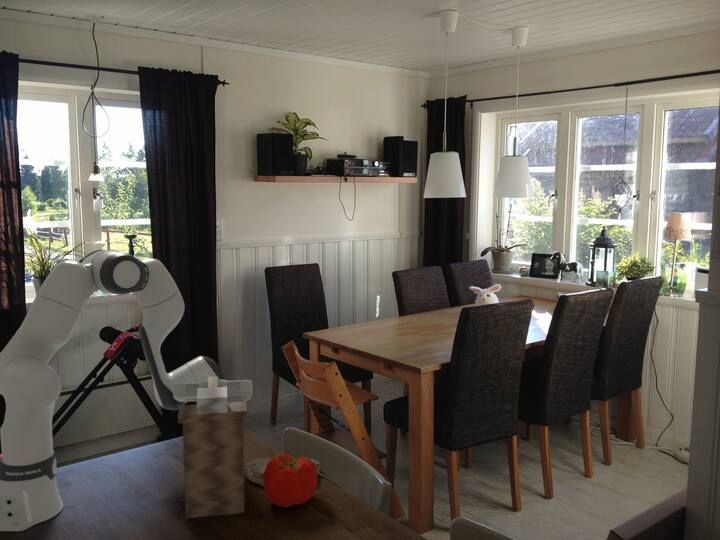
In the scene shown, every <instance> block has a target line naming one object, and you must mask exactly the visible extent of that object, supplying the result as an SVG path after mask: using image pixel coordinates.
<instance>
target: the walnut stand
mask: <svg viewBox="0 0 720 540" xmlns="http://www.w3.org/2000/svg"><path fill="white" fill-rule="evenodd" d="M247 405H248V404H247V401H245V402H229V403H227V407H228V413H213V414H197V403H196V404H184V405H180V407H179V409H178V413H177V423H178V424H182V436H183V438H182V439H183V440H182V442H183V443H182V444H183V447H182V449H183V471H184V474H183V475H184V476H183V477H184V480H183V481H184V504H185V505H184V507H185V508H184V510H185V519H193V518H202V517H204V518H205V517H215V516H223V515H224V516H225V515H236V514H244V513H246V512H245V509H246V508H245V506H246V505H245V502H246V501H245V460H244V458H245V457H244V456H245V455H244V453H245V452H244V447H245V446H244V420H248V407H247Z"/></svg>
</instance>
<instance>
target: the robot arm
mask: <svg viewBox="0 0 720 540" xmlns="http://www.w3.org/2000/svg"><path fill="white" fill-rule="evenodd" d="M97 291H100V292H102V293H105V294H112V295H113V294H114V295H118V296H121V295H122V296H124V295H128V294H132V295H133V296H134V297H135V299H136V301H137V303H138V306H139V307H140V310H141V312H142V323H141V325H140V326H139V328H138V336H139V340H140V343H141V346H142V347H141V348H142V351H143V354H144V358H145V361H146V363H147V367H148V371H149V374H150V378H151V380H152V384H153V390H154V391H153V393H154V396H155V399H156V401H157V403H158V404H159V405H160V406H161V407H162V408H163V409H165V410H170V411H177V410H179V407H180V405H187V403H189V402H190V403H191V402H197V390H198V388H208V377H215V376H218V387H227V403H229V402H245V401H246V402H247V401H249V400H250V399H251V398H252V395H253V390H254V389H253V388H254V387H253V381H252V379H241V380H239V379H237V380H226V379H225V376H224V374H223V372H222V370H221V368H220V367H219V365H218V363H217V362H216V361H215V360H214V359H212V358H210V357H209V356H204V355H199V356H197V357H195V358H194V359H192V360H190V361H188V362H186V363H184V364H183V365H181V366H180V367H177V368H176V369H174V370H172V371H170V372H167V370H166V367H165V363H164V361H163V357H162V354H161V346H162V344H163V342H164V341H165V339H166V338H167V337H168V335H169V334H170V333H171V332H172V331H173V330H174V329H175V328H176V327H177V326H178V324H179V323H180V321H181V320H182V318H183V316H184V313H185V308H186V307H185V302H184V299H183V296H182V294H181V291H180V289H179V287H178V286H177V283H176V281H175V280H174V278H173V277H172V275H171V272H169V271H168V269H167V267H166V266H165V265H164V264H163V262H161V260H159V259H158V258H152V257H151V258H149V257H148V258H145V259H141V260H140V259H139V258H137V257H136V256H135V255H133V254H130V253H127V252H124V251H123V252H122V251H120V250H114V249H97V250H94V251H92V252H90V253H88V254H86V255H85V256H84V257H83V258H81V259H80V260H78V261H77V260H71V259H68V260H67V259H65V260H61V261H59V262H58V263H56V265H55V266H54V267H53V268H52V269H51V271H50V272H49V273H48V275H47V276H46V278H45V280H44V281H43V282H42V284H41V286H40V288H39V290H38V291H37V294H36V296H35V297H34V300H33V301H32V304H31V306H30V307H29V310H28V311H27V314H26V315H25V318H24V320H23V321H22V323H21V325H20V327H19V328H18V329H17V330H16V332H15V334H14V335H13V336H12V337H11V339H10V340H9V341H8V343H7V344H6V345H5V347H4V348H3V349H2V350H1V352H0V395H1V396H3V398H4V402H5V414H4V420H3V423H2V425H1V426H0V447H1V450H0V451H1V453H0V532H23V531H25V530H27V529H30V528H31V527H33V526H35V525H37V524H40V523H42V522H46V521H48V520H50V519H51V518H53V517H55V516H57V515H58V514H59V513H60V512H61V511H62V510H63V509H64V502H63V500H62V497H61V494H60V491H59V487H58V483H57V478H56V475H57V472H58V471H57V467H58V466H57V458H56V453H55V451H54V443H53V417H54V416H53V414H54V410H55V404H56V401H57V399H58V398H59V396H60V394H61V392H62V388H63V387H62V380H61V377H60V375H59V374H58V373H57V371H56V370H55V369H54V368H53V367H52V366H51V365H50V364H49V362H50V360H51V359H52V358H53V356H54V355H55V354H56V353H57V352H58V351H59V350H60V349H61V347H63V346H64V345H66V344H67V343H68V342H69V340H70V339H71V337H72V334H73V332H74V329H75V328H76V326H77V323H78V321H79V319H80V317H81V316H82V312H83V311H84V308H85V306H86V304H87V301H88V300H89V298H90V297H91V296H92V295H93V294H94V293H96V292H97Z"/></svg>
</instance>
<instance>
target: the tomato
mask: <svg viewBox="0 0 720 540" xmlns="http://www.w3.org/2000/svg"><path fill="white" fill-rule="evenodd" d="M298 457H299V456H295V457H292V456H291V455H289V454H286V453H279V454H277V455H276V457H274V458H272V457H271V458H270V459H271V460H270V461H269V462H268V464H267V466H266V469H265V472H264V476H263V485H264V486H263V488H264V489H263V490H264V493H265V496H266V498H267V499H268V501H270V502H271V503H273V504H275V505H276V506H278V507H280V508H290V507H292V506H294V505H296V506H297V505H298V506H300V505H303V504H306V503H307V502H308V501H310V500H311V499H312V498H313V497H314V494H315V493H316V492H317V489H318V488H317V487H318V474H317V470H316V467H315V465H314V463H313V462H312V461H311V460H310V459H311V458H307V457H305V456H301V457H299V458H298ZM293 458H294V459H293ZM296 459H297V460H296Z"/></svg>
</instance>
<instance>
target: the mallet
mask: <svg viewBox="0 0 720 540" xmlns="http://www.w3.org/2000/svg"><path fill="white" fill-rule="evenodd" d="M196 404H197V414H213V413H228V407H227V387H218V376H215V377H208V388H198V390H197V401H196Z"/></svg>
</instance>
